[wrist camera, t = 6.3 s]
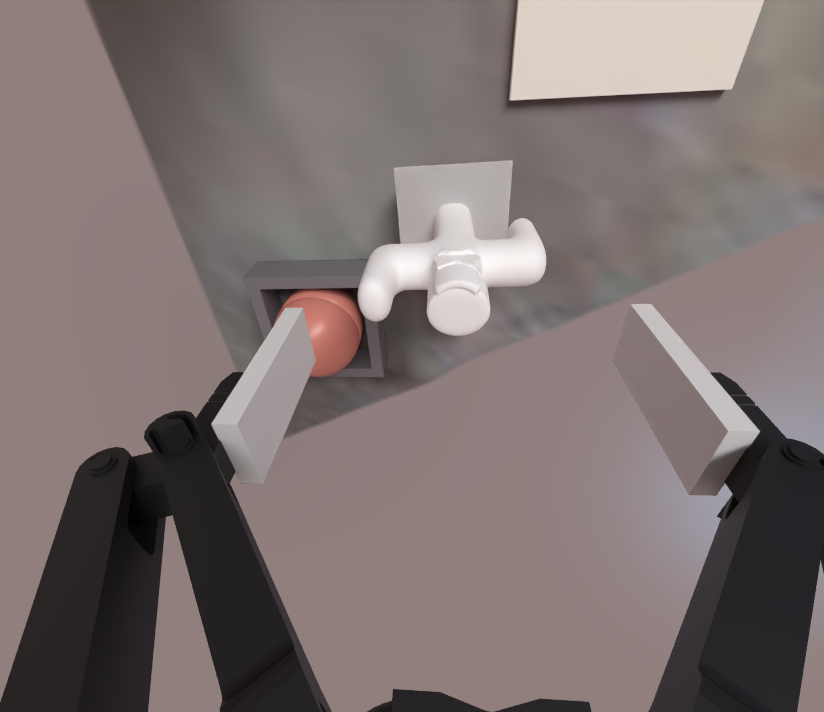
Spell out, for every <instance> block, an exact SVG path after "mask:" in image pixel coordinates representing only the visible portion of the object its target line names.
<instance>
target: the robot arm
mask: <svg viewBox="0 0 824 712" xmlns="http://www.w3.org/2000/svg"><path fill="white" fill-rule="evenodd" d="M315 361H316V359H315V355H314V351H313V346H312V342H311V338H310V334H309V330H308V326H307V321H306V317H305V313H304V309H303V308H285V309H284V311H283V312H282V314H281V315H280V317H279V319H278V320H277V322H276V323H275V325H274V326H273V328H272V330H271V331H270V333H269V334H268V336H267V337H266V339H265V341H264V342H263V344H262V345H261V347H260V348H259V350H258V352H257V353H256V355H255V356H254V358H253V359H252V361H251V362H250V364H249V366H248V367H247V369H246V370H245V372H233V373H232V374H230V375H229V376H228V377H227V378H225V379H224V380H223V381H221V383H220V384H219V386H218V387H217V389H216V390H215V391H214V394H212V396H211V397H210V399H209V402H207V403H206V405H205V406H204V407H203V409H202V410H201V412H200V413H199V415H198V416H197V417H196V418H195V416H194V415H193V414H192V413H191V412H188V411H174V412H171V413H168V414H165V415H163V416H161V417H159V418H157V419H156V420H155V421H154V422H152V423H151V424H150V425H149V426H148V428H147V429H146V431H145V435H144V439H145V440H146V442H147V443H148V445H149V446H150V448H151V449H152V451H153V452H151V453H147V454H143V455H138V456H134V457H132V456H131V455H130V454H129V452H128V451H127V450H125V449H124V448H118V447H114V448H109V449H105V450H103V451H100V452H98V453H96V454H94V455H93V456H91V457H90V458H88V459H87V460H86V461H85V462H84V463H83V464H82V465H81V466H80V467H79V469H78V470H77V472H76V474H75V477H74V480H73V483H72V486H71V490H70V493H69V495H68V498H67V502H66V505H65V508H64V511H63V514H62V517H61V520H60V523H59V526H58V529H57V532H56V535H55V538H54V541H53V544H52V547H51V550H50V553H49V556H48V559H47V562H46V565H45V568H44V571H43V575H42V577H41V580H40V584H39V587H38V590H37V593H36V596H35V599H34V602H33V605H32V608H31V611H30V614H29V617H28V620H27V623H26V626H25V629H24V633H23V635H22V639H21V641H20V644H19V647H18V651H17V654H16V657H15V660H14V663H13V666H12V669H11V672H10V675H9V678H8V682H7V684H6V687H5V690H4V693H3V696H2V699H1V702H0V712H148V704H149V693H150V683H151V673H152V661H153V651H154V639H155V629H156V618H157V607H158V596H159V585H160V575H161V564H162V553H163V543H164V532H165V521H166V517H167V516H171V515H173V518H174V521H175V525H176V529H177V532H178V536H179V540H180V543H181V547H182V551H183V554H184V558H185V561H186V565H187V569H188V572H189V576H190V580H191V583H192V587H193V591H194V594H195V598H196V601H197V605H198V609H199V612H200V616H201V620H202V623H203V627H204V631H205V634H206V638H207V641H208V645H209V648H210V652H211V656H212V660H213V663H214V667H215V670H216V674H217V678H218V682H219V685H220V689H221V694H222V703H221V707H220V712H331V709H330V707H329V705H328V703H327V701H326V699H325V697H324V695H323V693H322V691H321V689H320V686H319V684H318V682H317V680H316V678H315V675H314V673H313V671H312V668H311V666H310V664H309V662H308V660H307V657H306V655H305V653H304V650H303V648H302V646H301V644H300V641H299V639H298V637H297V634H296V632H295V630H294V628H293V625H292V623H291V621H290V618H289V616H288V614H287V612H286V609H285V607H284V605H283V603H282V600H281V598H280V596H279V593H278V591H277V589H276V587H275V584H274V582H273V580H272V578H271V575H270V573H269V571H268V568H267V566H266V564H265V562H264V559H263V557H262V555H261V553H260V551H259V548H258V546H257V544H256V541H255V539H254V537H253V534H252V532H251V530H250V528H249V525H248V523H247V521H246V518H245V516H244V514H243V512H242V509H241V507H240V505H239V503H238V500H237V498H236V496H235V493H234V491H233V489H232V487H231V486H230V481H231V479H232V477H233V475H234V473H236V475H237V477H238V479H239V481H240V483H241V484H264V481H265V479H266V477H267V474H268V472H269V470H270V467H271V465H272V462H273V460H274V457H275V455H276V453H277V451H278V448H279V446H280V444H281V441H282V439H283V437H284V434H285V432H286V429H287V427H288V425H289V422H290V420H291V418H292V415H293V413H294V411H295V408H296V406H297V404H298V401H299V399H300V397H301V394H302V392H303V389H304V387H305V385H306V382H307V380H308V378H309V375H310V373H311V371H312V368H313V366H314V364H315ZM613 362H614V364H615V365H616V367H617V369H618V371H619V372H620V374H621V376H622V378H623V379H624V381H625V383H626V385H627V386H628V388H629V390H630V392H631V394H632V395H633V397H634V399H635V401H636V402H637V404H638V406H639V408H640V409H641V411H642V413H643V415H644V416H645V418H646V420H647V422H648V423H649V425H650V427H651V429H652V430H653V432H654V434H655V436H656V438H657V439H658V441H659V443H660V445H661V446H662V448H663V450H664V452H665V453H666V455H667V457H668V459H669V461H670V462H671V464H672V466H673V468H674V469H675V471H676V473H677V475H678V476H679V478H680V480H681V482H682V483H683V485H684V487H685V489H686V490H687V492H688V494H689V495H713V496H716V495H717V493H718V492H719V491H720V489H721V488H722V486H723V485H724V483H726V485H727V486H728V488H729V489H730V490H731V492H732V494H733V495H732V496H731V497H730V499H729V500H728V502H727V503H726V505H725V506H724V507H723V508H722V510H721V512H720V513H719V514H718V516H717V517H719V518H721V521H720V523H719V527H718V529H717V531H716V534H715V537H714V540H713V542H712V545H711V548H710V550H709V553H708V556H707V558H706V561H705V564H704V566H703V569H702V572H701V574H700V577H699V580H698V582H697V585H696V588H695V591H694V593H693V596H692V599H691V601H690V604H689V607H688V609H687V612H686V615H685V617H684V620H683V623H682V626H681V628H680V631H679V633H678V636H677V639H676V642H675V644H674V647H673V650H672V652H671V655H670V658H669V660H668V663H667V666H666V668H665V671H664V674H663V676H662V679H661V682H660V684H659V687H658V690H657V693H656V695H655V698H654V701H653V703H652V705H651V708H650V710H649V712H797V708H798V702H799V695H800V688H801V682H802V675H803V669H804V662H805V656H806V650H807V643H808V637H809V630H810V624H811V618H812V611H813V605H814V598H815V591H816V585H817V578H818V572H819V565H820V559H821V563H822V567H823V572H824V454H822V453H821V452H820V451H818V450H817V449H816V448H814V447H812V446H810V445H808V444H806V443H803V442H800V441H797V440H793V439H787V438H786V437H785V436H784V435H783V434H782V433H781V432H780V430H779V429H778V428H777V427H776V426H775V425H774V424H773V423H772V422H771V420H770V419H769V418H768V417H767V416H766V415H765V414H764V413H763V412H762V411H761V410H760V408H759V407H758V406H755V403H754V402H753V401H752V400H751V399H750V397H747V396H746V395H747V394H746V393H745V392H744V391H743V390H742V389H741V388H740V387H739V385H738V384H737V383H736V382H734V381H732V380H731V379H729V378H728V377H726V376H725V375H723V374H722V373H710V372H709V371H708V370H707V369H706V368H705V366H704V365H703V364H702V363H701V362H700V361H699V360H698V358H697V357H696V356H695V355H694V354H693V353H692V351H691V350H690V349H689V348H688V347H687V345H686V344H685V343H684V342H683V341H682V340H681V339H680V337H679V336H678V335H677V334H676V333H675V332H674V330H673V329H672V328H671V327H670V326H669V324H668V323H667V322H666V321H665V320H664V319H663V317H662V316H661V315H660V314H659V313H658V312H657V311H656V309H655V308H654V307H653V306H652V305H651V304H631V305H630V308H629V311H628V314H627V317H626V321H625V324H624V326H623V330H622V333H621V336H620V339H619V342H618V345H617V349H616V352H615V355H614V358H613ZM368 712H488V711H485V710H482V709H480V708H477V707H475V706H473V705H470V704H468V703H465V702H463V701H460V700H458V699H455V698H453V697H450V696H448V695H445V694H443V693H441V692H429V691H414V690H399V689H393V698H392V701H390V702H387V703H383V704H381V705H379V706H377V707H374V708H372V709H371V710H369V711H368ZM495 712H591V708H590V703H589V702H582V701H567V700H551V699H538V700H534V701H530V702H527V703H523V704H520V705H516V706H513V707H509V708H506V709H502V710H499V711H495Z"/></svg>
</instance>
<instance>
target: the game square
mask: <svg viewBox="0 0 824 712" xmlns="http://www.w3.org/2000/svg"><path fill="white" fill-rule="evenodd" d="M763 2H764V0H517V7H516V19H515V31H514V43H513V55H512V67H511V78H510V90H509V100H529V99H548V98H568V97H588V96H608V95H627V94H647V93H667V92H687V91H706V90H726V89H732V87H733V85H734V82H735V79H736V76H737V74H738V71H739V68H740V65H741V63H742V60H743V57H744V54H745V52H746V49H747V46H748V43H749V41H750V38H751V35H752V32H753V30H754V27H755V24H756V22H757V19H758V16H759V13H760V11H761V8H762V5H763Z"/></svg>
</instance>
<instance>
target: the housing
mask: <svg viewBox="0 0 824 712" xmlns="http://www.w3.org/2000/svg"><path fill="white" fill-rule="evenodd" d="M367 262H368V259H360V260H312V261H264V262H257V263H256V264H255V265H254V266H253V267H252V269H251V270H250V271H249V272H248V273H247V274H246V275H245V277H244V281H245V284H246V287H247V290H248V293H249V296H250V299H251V302H252V305H253V308H254V311H255V314H256V317H257V320H258V323H259V326H260V329H261V332H262V335H263V338H264V341H265V339H266V337H267V336H268V334H269V333H270V331H271V330H272V328H273V326H274V323H275V320H276V317H277V315H278V313H279V312H280V310H281V308H282V304H281V301H280V297H279V294H278V290H277V289H314V288H359V284H360V281H361V278H362V275H363V273H364V270H365V267H366V264H367ZM364 318H365V325H366V332H367V339H368V346H369V349H358V350H357V352H356V354H355V356H354V358H353V359H352V361H351V362H350V363H349V364H348V365H347V366H346V367H345V368H343V369H342V370H340V371H338V372H337V373H334V374H332V375H328V376H324V377H384V374H385V368H386V362H387V348H386V339H385V330H384V320H381V321H377V322H375V321H370V320H368V319H367V318H366V317H365V316H364ZM309 377H311V376H309Z"/></svg>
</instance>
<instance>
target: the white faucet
mask: <svg viewBox="0 0 824 712" xmlns="http://www.w3.org/2000/svg"><path fill="white" fill-rule="evenodd" d="M512 164H513V160H511V161H495V162H479V163H463V164H447V165H431V166H415V167H399V168H394V176H395V187H396V198H397V209H398V220H399V231H400V242H401V244H388V245H383V246H380V247H378V248H377V249H375V250H374V251H373V252H372V254H371V255H370V257H369V259H368V262H367V264H366V267H365V270H364V273H363V275H362V278H361V281H360V284H359V288H358V303H359V307H360V310H361V312H362V314H363V315H364V316H365V317H366V318H367V319H368V320H370V321H375V322H377V321H381V320H383V319H385V318H386V317H387V316H388V314H389V312H390V310H391V306H392V302H393V298H394V296H395V295H396V294H398V293H399V292H401V291H404V290H428V296H427V317H428V319H429V321H430V323H431V325H432V326H433V327H434V328H436V329H437V330H438V331H440V332H442V333H445V334H447V335H453V336H462V335H467V334H470V333H473V332H475V331H477V330H479V329H480V328H481V327H482V326H483V325H484V324H485V323H486V321H487V320H488V318H489V315H490V302H489V295H488V288H487V287H512V286H528V285H531V284H534V283H536V282H538V281H539V280H540V279H541V278H542V276H543V274H544V272H545V268H546V253H545V249H544V246H543V244H542V241H541V239H540V237H539V235H538V234H537V232H536V230H535V228H534V226H533V224H532V223H531V222H530V221H529V220H527V219H525V218H520V219H517V220H515V221H514V222H513V223H512V224H511V226H510V227H509V230H508V217H509V204H510V191H511V178H512ZM507 230H508V233H507Z"/></svg>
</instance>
